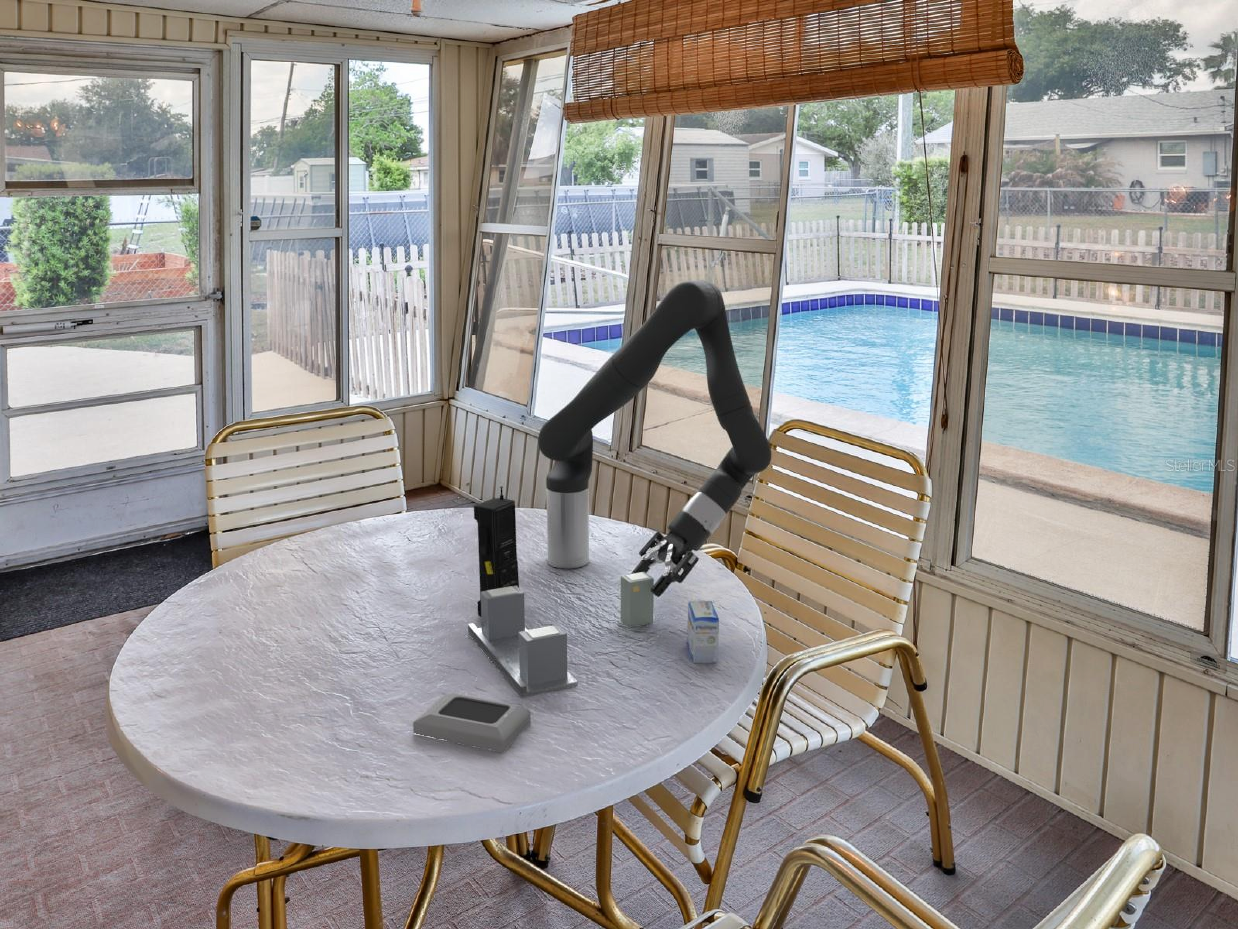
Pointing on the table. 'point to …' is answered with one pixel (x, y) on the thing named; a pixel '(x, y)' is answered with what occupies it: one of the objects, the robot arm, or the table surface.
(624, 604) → the block
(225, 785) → the table surface
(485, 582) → the portable radio
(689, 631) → the medicine box
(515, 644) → the rail
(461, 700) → the grey flat block
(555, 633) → the mounted modules
